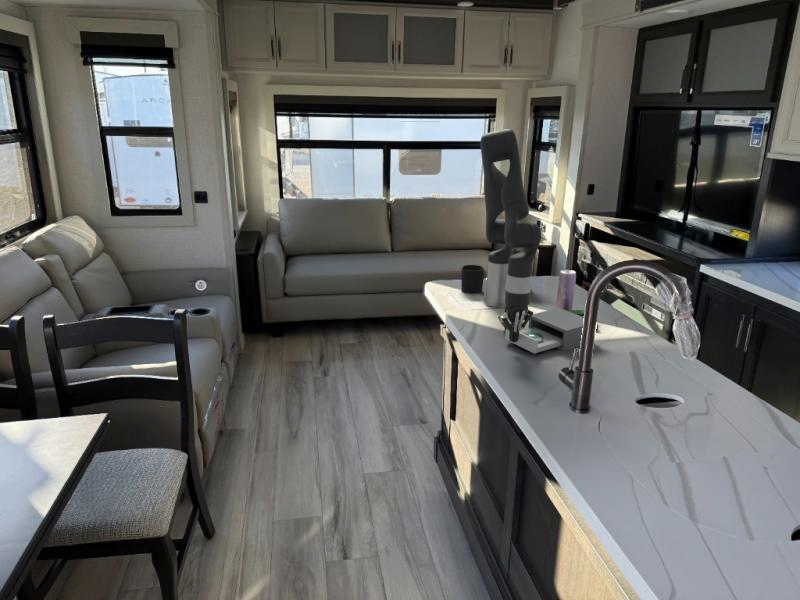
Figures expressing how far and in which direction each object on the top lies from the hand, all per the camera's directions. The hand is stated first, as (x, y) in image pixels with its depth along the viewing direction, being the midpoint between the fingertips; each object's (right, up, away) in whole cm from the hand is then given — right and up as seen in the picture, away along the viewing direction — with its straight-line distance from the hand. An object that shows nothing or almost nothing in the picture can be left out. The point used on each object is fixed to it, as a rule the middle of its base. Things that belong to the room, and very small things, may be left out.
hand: (513, 341), depth 175 cm
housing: (+18, 0, +12) cm, 21 cm away
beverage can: (+27, +9, +39) cm, 48 cm away
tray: (+8, -1, +5) cm, 9 cm away
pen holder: (-5, +17, +59) cm, 62 cm away
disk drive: (+29, +4, +26) cm, 39 cm away
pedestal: (+2, +2, +16) cm, 16 cm away
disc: (+7, 0, +5) cm, 9 cm away
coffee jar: (+15, +18, +62) cm, 66 cm away
